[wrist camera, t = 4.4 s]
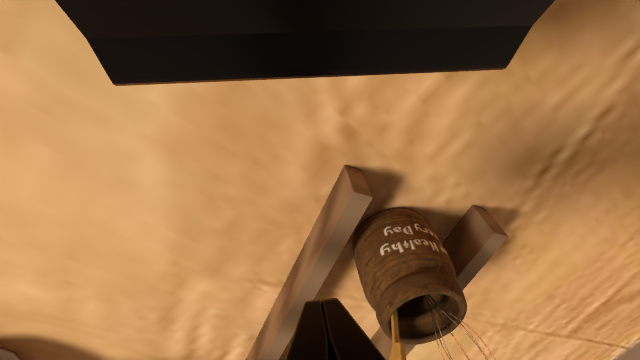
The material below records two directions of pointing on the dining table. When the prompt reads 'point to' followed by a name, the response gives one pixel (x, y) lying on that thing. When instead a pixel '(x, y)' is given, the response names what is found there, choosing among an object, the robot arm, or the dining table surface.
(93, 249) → the dining table surface
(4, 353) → the potion bottle
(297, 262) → the tray
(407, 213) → the utensil holder
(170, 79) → the robot arm
